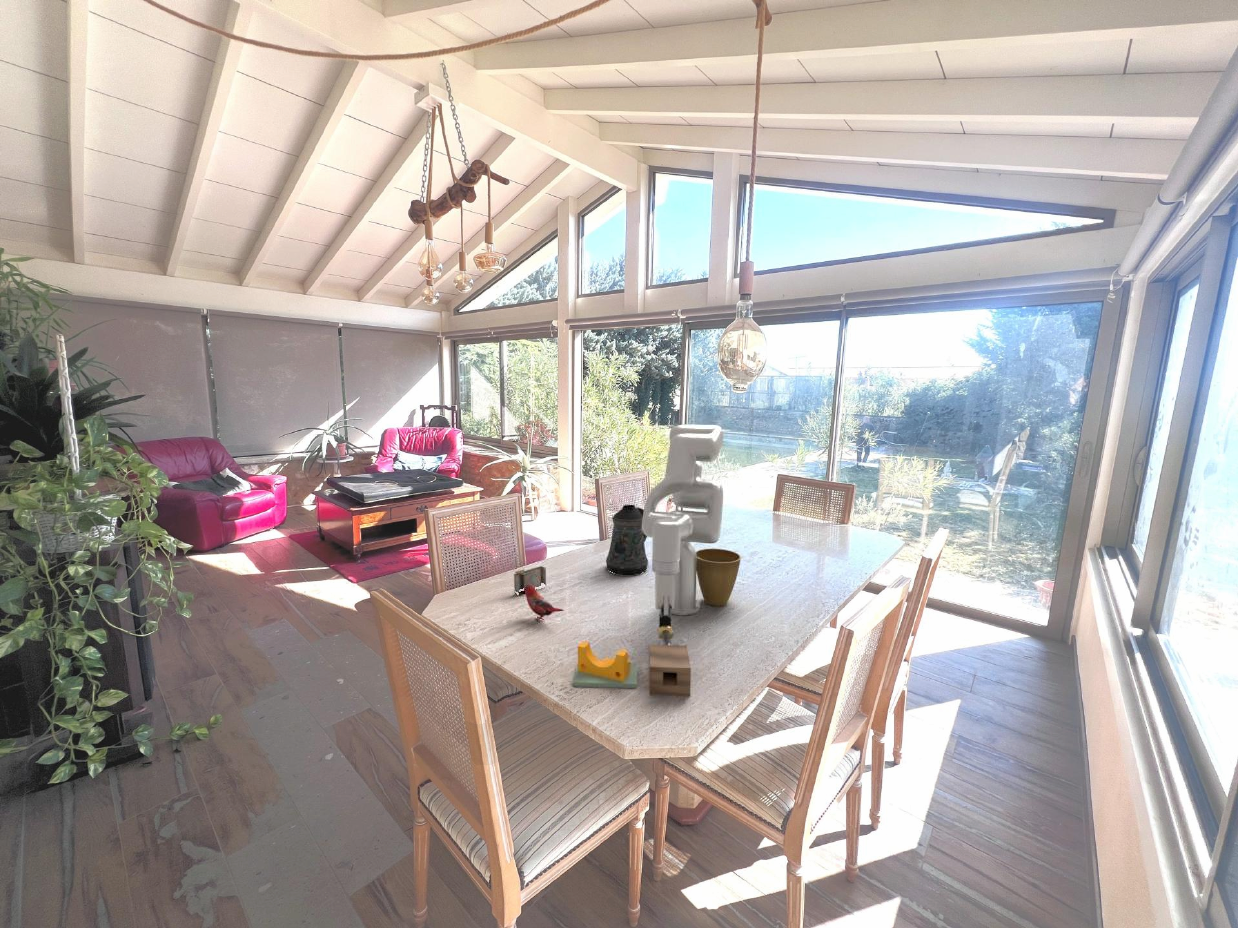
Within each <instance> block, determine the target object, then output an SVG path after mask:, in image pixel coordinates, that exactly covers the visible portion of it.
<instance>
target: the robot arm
mask: <svg viewBox="0 0 1238 928" xmlns="http://www.w3.org/2000/svg"><path fill="white" fill-rule="evenodd" d="M723 443H724V432H723V429H722V427H721V426H719V425H715V424H678V425H675V426H673V427H672V428H671V429H670V431H669V449H668V454H667V459H666V460H667V461H666V466H665V475H664V478H663V479H662V480H661V481H660V482H659V483H658V484H656V486H655V487H653V488H652V490H651V491H650V492H649V494H648V495H647V498H646V499H645V500H646V501H645V503H644V508H643V510H644V513H643V519H642V530H643V533H644V534H645V535H646V536H647V538H650V539H651V538H652V539H651V540H652V542H651V545H652V547H651V548H652V550H651V553H652V554H651V555H652V556H651V571H652V572H653V573H655V578H654V579H655V580H654V608H655V610H656V611H658V610H659V614H658V629H659V628H660V627H661V626H663V625H668V626H670V627H671V628H672V615H675V616H677V615H678V616H688V615H695V614H696V613H699V611H700V610H701V607H702V606H701V603H700V602H699V601H698V599H697V572H696V569H697V555H696V551H697V550H695V548H694V546H693V545H692V543H698V544H699V543H700V544H715V543H717V542H718V541H719V539H720V538H721V537H720V536H721V532H722V531H721V530H722V519H723V507H724V491H723V490H724V489H723V486H722V484H721V483H720V481H717V480H713V479H702V472H703V466H702V462H703V463H705V462H706V463H708V462H709V463H712V462H714V461H716V459H718V456H719V453H720V451H721V449H722V445H723ZM669 496H672V502H673V504H674V505H675V506H676V507H679V508H683V509H692V510H682V509H681V510H680V509H679V510H672V511H668V512H666V511H656V509H657V506H658V505H659V503H660V502H662V501H663V500H664V499H666V498H667V497H669ZM693 509H694V510H696V511H694V510H693ZM697 510H702V511H697ZM703 510H704V511H703Z"/></svg>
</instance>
